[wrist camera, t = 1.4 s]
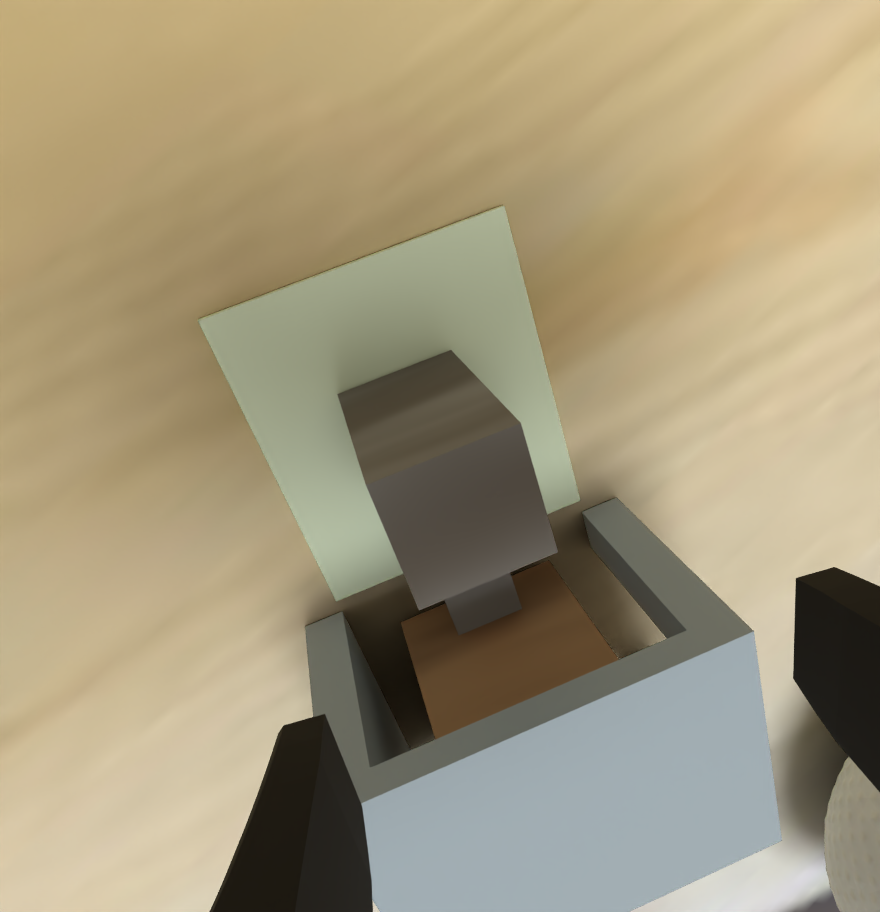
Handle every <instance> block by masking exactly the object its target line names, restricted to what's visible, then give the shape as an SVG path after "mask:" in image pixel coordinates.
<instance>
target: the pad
mask: <svg viewBox="0 0 880 912" xmlns="http://www.w3.org/2000/svg"><path fill="white" fill-rule="evenodd" d="M198 322H199V324H200V327H201V329H202V331H203V333H204V335H205V337H206V339H207V341H208V343H209V345H210V347H211V349H212V351H213V353H214V355H215V357H216V359H217V361H218V363H219V365H220V367H221V369H222V371H223V373H224V375H225V377H226V379H227V381H228V383H229V385H230V387H231V389H232V391H233V393H234V395H235V398H236V400H237V402H238V404H239V406H240V408H241V410H242V412H243V414H244V416H245V418H246V420H247V422H248V424H249V426H250V428H251V430H252V432H253V434H254V436H255V438H256V440H257V442H258V444H259V446H260V448H261V450H262V452H263V454H264V456H265V458H266V460H267V462H268V464H269V466H270V468H271V471H272V473H273V475H274V477H275V479H276V481H277V483H278V485H279V487H280V489H281V491H282V493H283V495H284V497H285V499H286V501H287V503H288V505H289V507H290V509H291V511H292V513H293V515H294V517H295V519H296V521H297V523H298V525H299V527H300V529H301V531H302V533H303V535H304V537H305V539H306V541H307V544H308V546H309V548H310V550H311V552H312V554H313V556H314V558H315V560H316V562H317V564H318V566H319V568H320V570H321V572H322V574H323V576H324V578H325V580H326V582H327V584H328V586H329V588H330V590H331V592H332V594H333V596H334V598H335V600H336V602H337V601H339V600H341V599H344V598H346V597H349V596H351V595H353V594H356V593H358V592H361V591H363V590H366V589H368V588H370V587H373V586H375V585H378V584H380V583H382V582H385V581H387V580H390V579H392V578H395V577H397V576H399V575H402V574H403V572H402V569H401V567H400V564H399V562H398V560H397V557H396V555H395V553H394V550H393V548H392V546H391V543H390V541H389V539H388V536H387V534H386V532H385V529H384V527H383V524H382V522H381V520H380V517H379V515H378V513H377V510H376V508H375V506H374V503H373V501H372V499H371V496H370V494H369V491H368V489H367V487H366V484H365V481H364V478H363V475H362V471H361V468H360V465H359V462H358V459H357V455H356V452H355V449H354V446H353V443H352V440H351V436H350V433H349V430H348V427H347V424H346V420H345V417H344V414H343V411H342V408H341V404H340V401H339V398H338V395H337V394H339V393H342V392H344V391H347V390H349V389H352V388H354V387H357V386H360V385H362V384H365V383H367V382H370V381H372V380H375V379H378V378H380V377H383V376H385V375H388V374H390V373H393V372H395V371H398V370H401V369H403V368H406V367H408V366H411V365H413V364H416V363H419V362H421V361H424V360H426V359H429V358H431V357H434V356H437V355H439V354H442V353H444V352H447V351H449V350H452V351H453V352H454V353H455V355H456V356H457V357H458V358H459V359H460V360H461V361H462V362H463V363H464V364H465V365H466V366H467V367H468V368H469V369H470V370H471V371H472V372H473V373H474V374H475V375H476V376H477V378H478V379H479V380H480V381H481V382H482V383H483V384H484V385H485V386H486V387H487V388H488V389H489V390H490V391H491V392H492V393H493V394H494V395H495V396H496V397H497V398H498V399H499V401H500V402H501V403H502V404H503V405H504V406H505V407H506V408H507V409H508V410H509V411H510V412H511V413H512V414H513V415H514V416H515V417H516V418H517V419H518V420H519V421H520V423H521V425H522V429H523V432H524V436H525V439H526V443H527V446H528V449H529V453H530V456H531V460H532V463H533V467H534V470H535V474H536V477H537V481H538V484H539V488H540V491H541V495H542V498H543V501H544V505H545V508H546V512H547V514H549V513H552V512H554V511H557V510H559V509H561V508H564V507H566V506H569V505H571V504H573V503H576V502H578V501H581V500H580V496H579V492H578V488H577V484H576V480H575V477H574V473H573V469H572V465H571V461H570V457H569V453H568V450H567V446H566V442H565V438H564V434H563V430H562V426H561V422H560V419H559V415H558V411H557V407H556V403H555V399H554V395H553V392H552V388H551V384H550V380H549V376H548V372H547V368H546V364H545V361H544V357H543V353H542V349H541V345H540V341H539V337H538V334H537V330H536V326H535V322H534V318H533V314H532V310H531V306H530V303H529V299H528V295H527V291H526V287H525V283H524V279H523V276H522V272H521V268H520V264H519V260H518V256H517V252H516V248H515V245H514V241H513V237H512V233H511V229H510V225H509V221H508V218H507V214H506V210H505V206H503V205H501V206H499V207H496V208H493V209H491V210H488V211H485V212H483V213H480V214H477V215H475V216H472V217H469V218H467V219H464V220H461V221H459V222H456V223H453V224H451V225H448V226H445V227H443V228H440V229H437V230H435V231H432V232H429V233H427V234H424V235H421V236H419V237H416V238H413V239H411V240H408V241H405V242H403V243H400V244H397V245H395V246H392V247H389V248H386V249H384V250H381V251H378V252H376V253H373V254H370V255H368V256H365V257H362V258H360V259H357V260H354V261H352V262H349V263H346V264H344V265H341V266H338V267H336V268H333V269H330V270H328V271H325V272H322V273H320V274H317V275H314V276H312V277H309V278H306V279H304V280H301V281H298V282H296V283H293V284H290V285H288V286H285V287H282V288H280V289H277V290H274V291H272V292H269V293H266V294H264V295H261V296H258V297H256V298H253V299H250V300H248V301H245V302H242V303H240V304H237V305H234V306H232V307H229V308H226V309H224V310H221V311H218V312H216V313H213V314H210V315H208V316H205V317H202V318H200V319H198Z"/></svg>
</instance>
